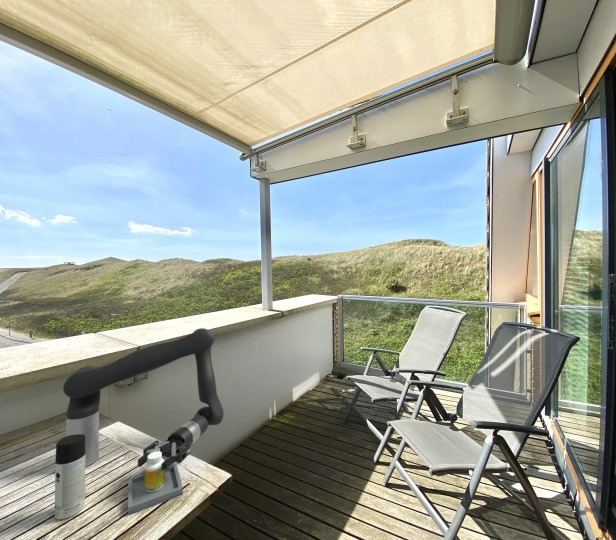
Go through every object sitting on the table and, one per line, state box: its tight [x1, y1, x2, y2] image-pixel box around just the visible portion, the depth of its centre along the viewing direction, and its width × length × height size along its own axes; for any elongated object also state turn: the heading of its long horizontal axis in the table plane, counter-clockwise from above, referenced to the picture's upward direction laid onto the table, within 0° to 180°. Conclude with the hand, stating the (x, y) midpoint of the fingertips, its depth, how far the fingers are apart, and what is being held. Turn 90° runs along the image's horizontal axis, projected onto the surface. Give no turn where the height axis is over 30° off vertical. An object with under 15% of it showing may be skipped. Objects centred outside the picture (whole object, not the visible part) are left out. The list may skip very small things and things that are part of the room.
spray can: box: [53, 434, 86, 521], centre depth 82 cm, size 7×7×20 cm
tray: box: [127, 463, 184, 516], centre depth 90 cm, size 14×14×2 cm
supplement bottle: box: [144, 450, 165, 492], centre depth 90 cm, size 5×5×10 cm
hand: (150, 465), depth 88 cm, fingers open, 8 cm apart
